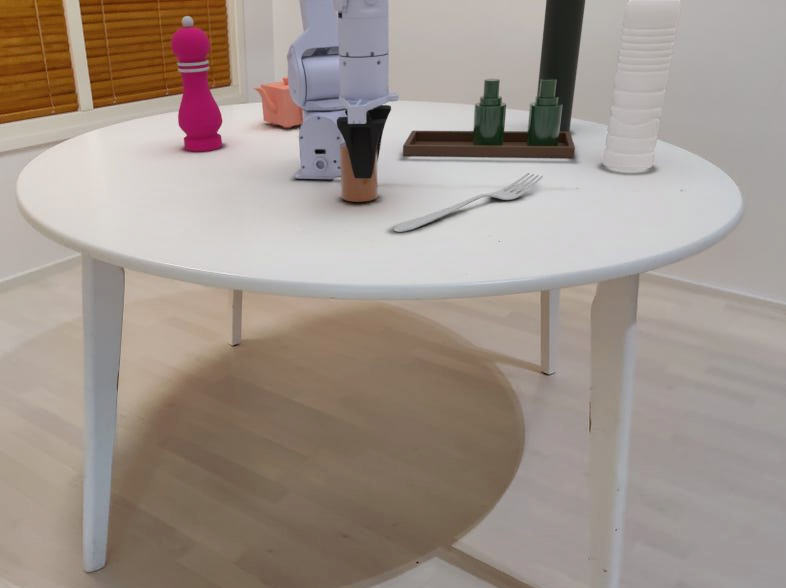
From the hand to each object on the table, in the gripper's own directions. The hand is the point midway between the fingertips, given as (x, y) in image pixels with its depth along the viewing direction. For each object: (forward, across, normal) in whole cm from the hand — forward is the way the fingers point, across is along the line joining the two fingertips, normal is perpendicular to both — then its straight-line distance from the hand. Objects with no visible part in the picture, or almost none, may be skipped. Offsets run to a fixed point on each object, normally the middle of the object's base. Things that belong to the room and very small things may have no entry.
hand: (365, 172), depth 88 cm
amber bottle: (+3, 0, +1) cm, 3 cm away
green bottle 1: (+3, +25, -16) cm, 29 cm away
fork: (+4, -3, -13) cm, 14 cm away
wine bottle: (+4, +38, -26) cm, 46 cm away
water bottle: (+4, +16, -35) cm, 39 cm away
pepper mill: (+4, +28, +31) cm, 42 cm away
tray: (+3, +25, -16) cm, 29 cm away
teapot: (+4, +47, +20) cm, 51 cm away
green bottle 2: (+3, +24, -24) cm, 34 cm away
